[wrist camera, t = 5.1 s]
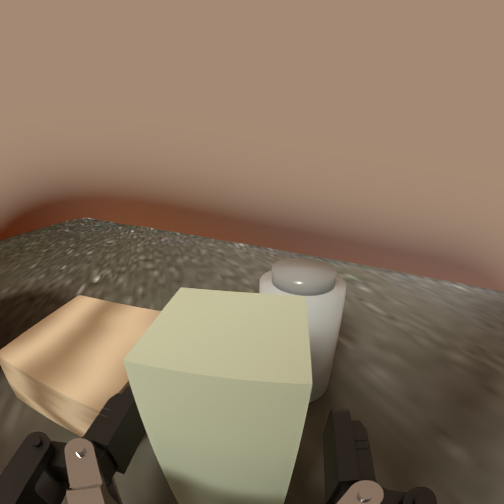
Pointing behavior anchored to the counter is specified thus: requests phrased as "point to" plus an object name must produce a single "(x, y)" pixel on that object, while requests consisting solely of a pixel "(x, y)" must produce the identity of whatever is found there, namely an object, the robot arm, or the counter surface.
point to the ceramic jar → (312, 308)
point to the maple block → (75, 359)
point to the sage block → (224, 393)
